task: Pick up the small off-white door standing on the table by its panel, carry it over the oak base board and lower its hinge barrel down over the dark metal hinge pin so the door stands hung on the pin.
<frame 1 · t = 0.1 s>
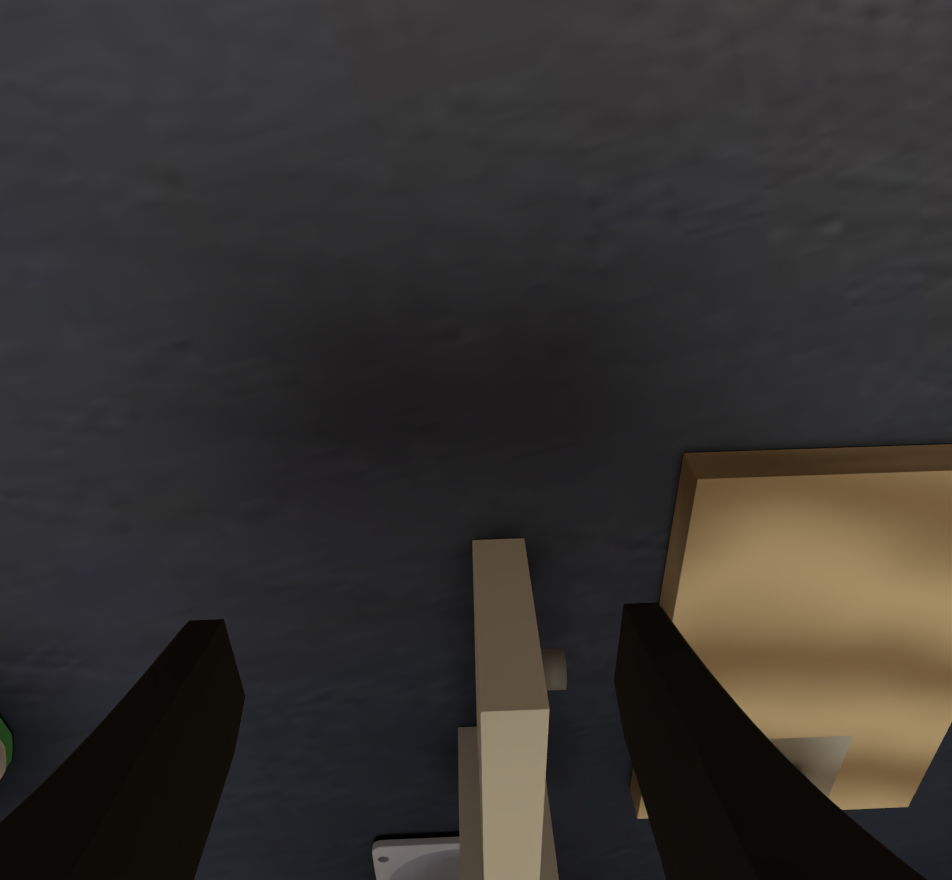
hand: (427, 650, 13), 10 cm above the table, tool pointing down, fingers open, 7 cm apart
door: (498, 750, 30), on the table
base board: (804, 642, 28), on the table
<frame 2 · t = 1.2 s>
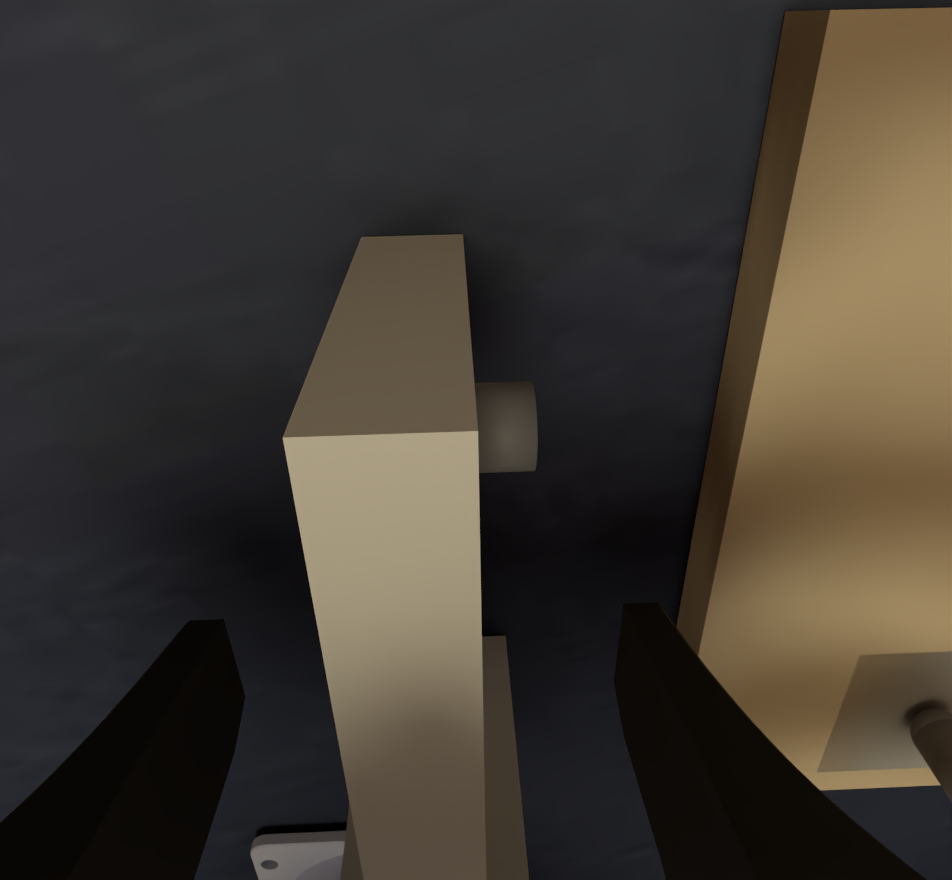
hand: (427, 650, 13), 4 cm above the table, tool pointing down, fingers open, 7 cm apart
door: (440, 684, 19), on the table
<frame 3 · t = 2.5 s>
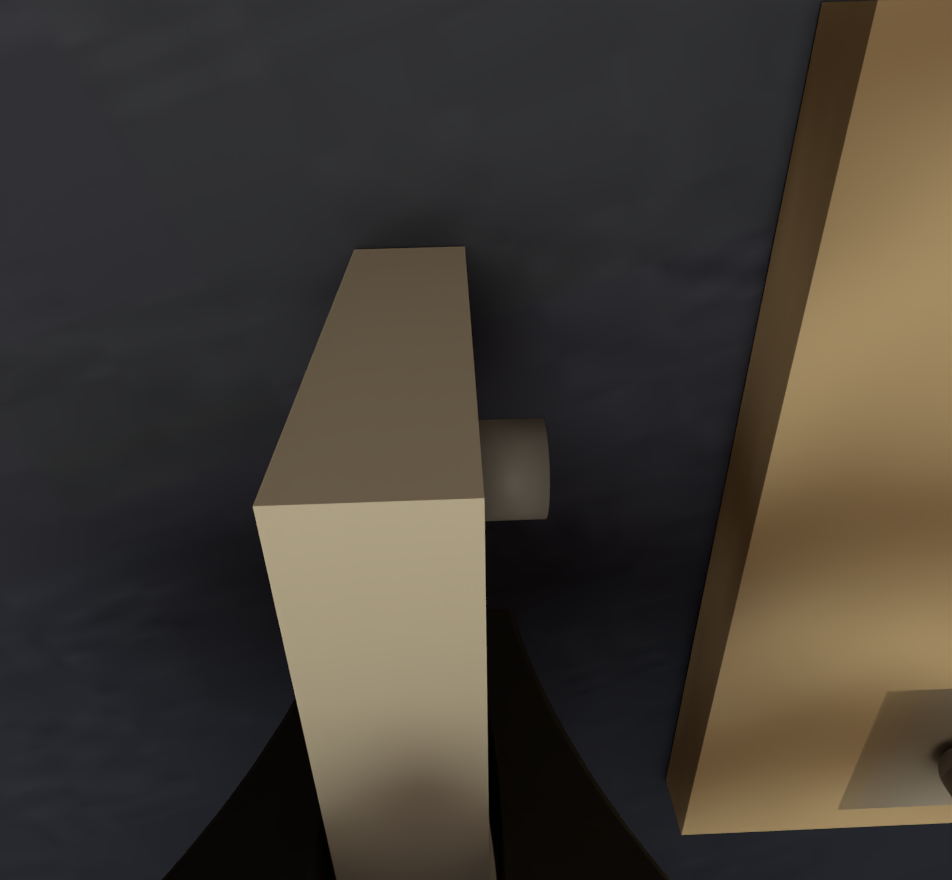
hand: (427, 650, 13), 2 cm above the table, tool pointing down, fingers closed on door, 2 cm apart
door: (440, 717, 18), on the table, touching gripper
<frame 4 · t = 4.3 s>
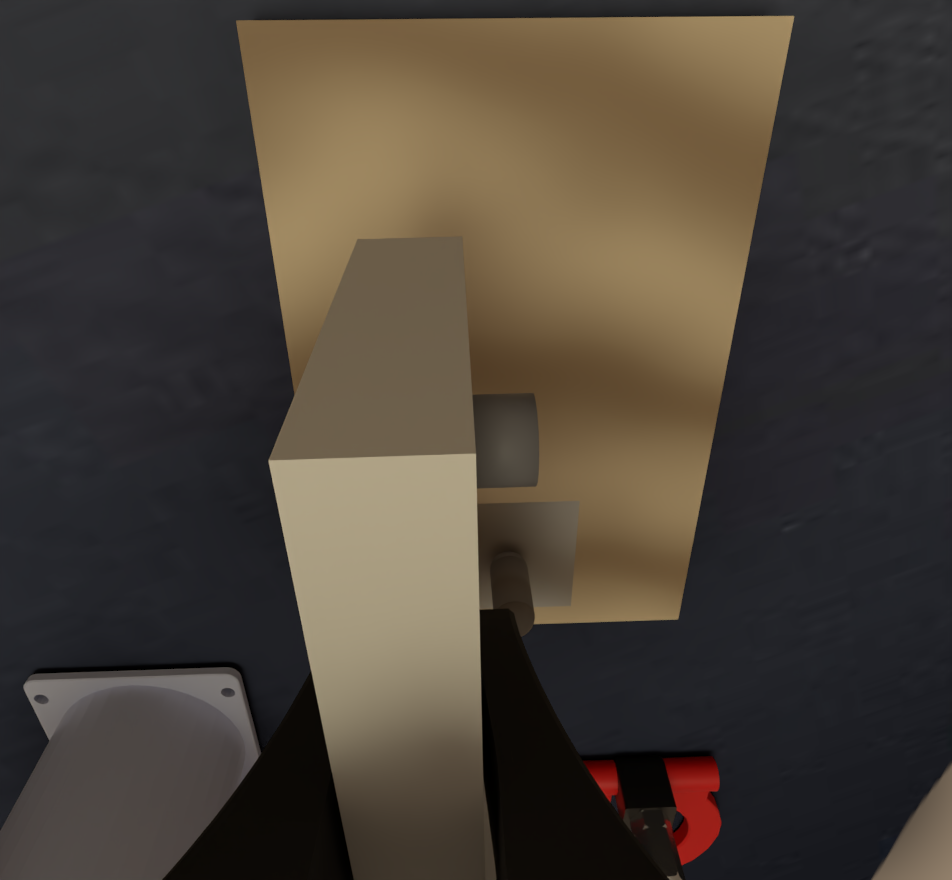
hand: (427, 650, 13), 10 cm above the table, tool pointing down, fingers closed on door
door: (440, 693, 18), point 7 cm above the table, touching gripper
base board: (506, 369, 21), on the table
tow hook: (625, 806, 33), on the table
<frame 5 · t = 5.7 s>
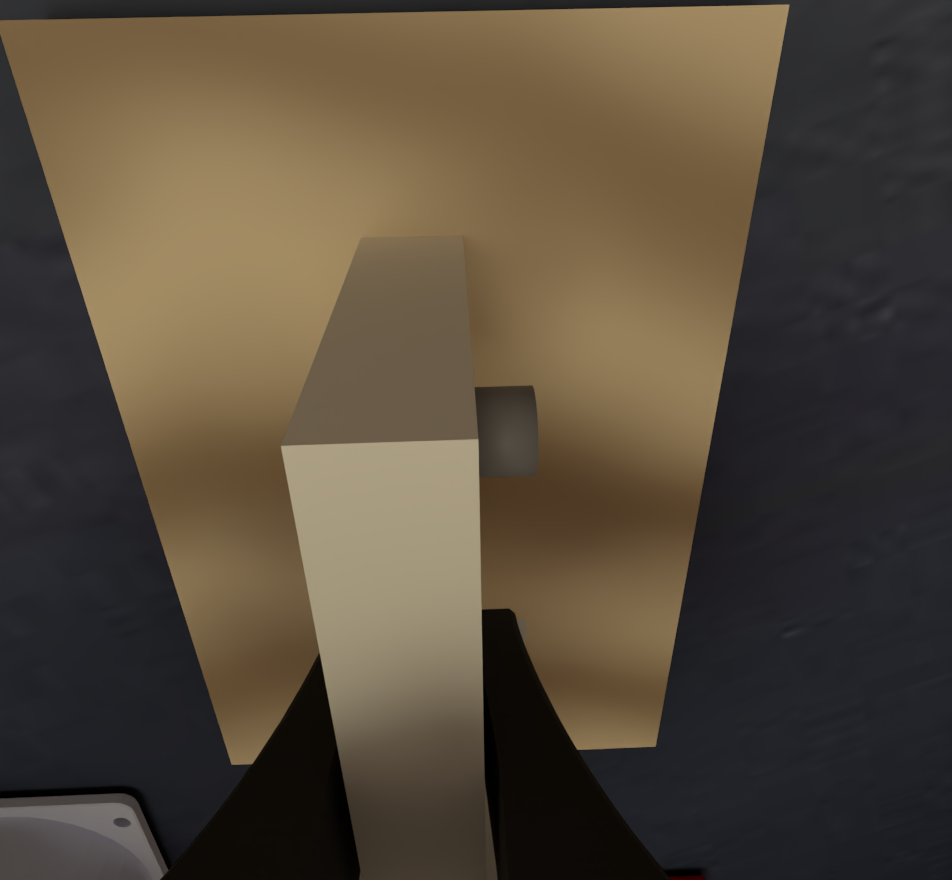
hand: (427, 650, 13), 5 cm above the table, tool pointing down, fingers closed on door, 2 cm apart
door: (440, 685, 18), point 1 cm above the table, touching base board, gripper
base board: (429, 459, 17), on the table
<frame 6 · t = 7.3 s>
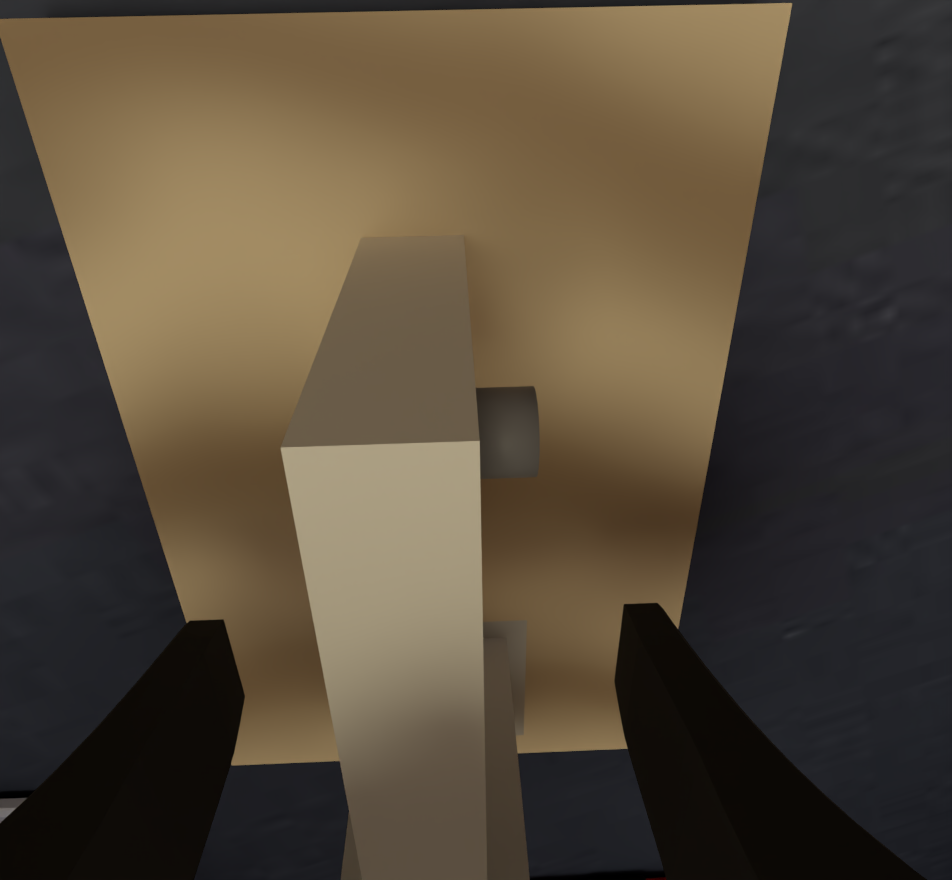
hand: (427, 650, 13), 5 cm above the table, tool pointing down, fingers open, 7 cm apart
door: (441, 686, 18), point 1 cm above the table, touching base board
base board: (430, 459, 17), on the table
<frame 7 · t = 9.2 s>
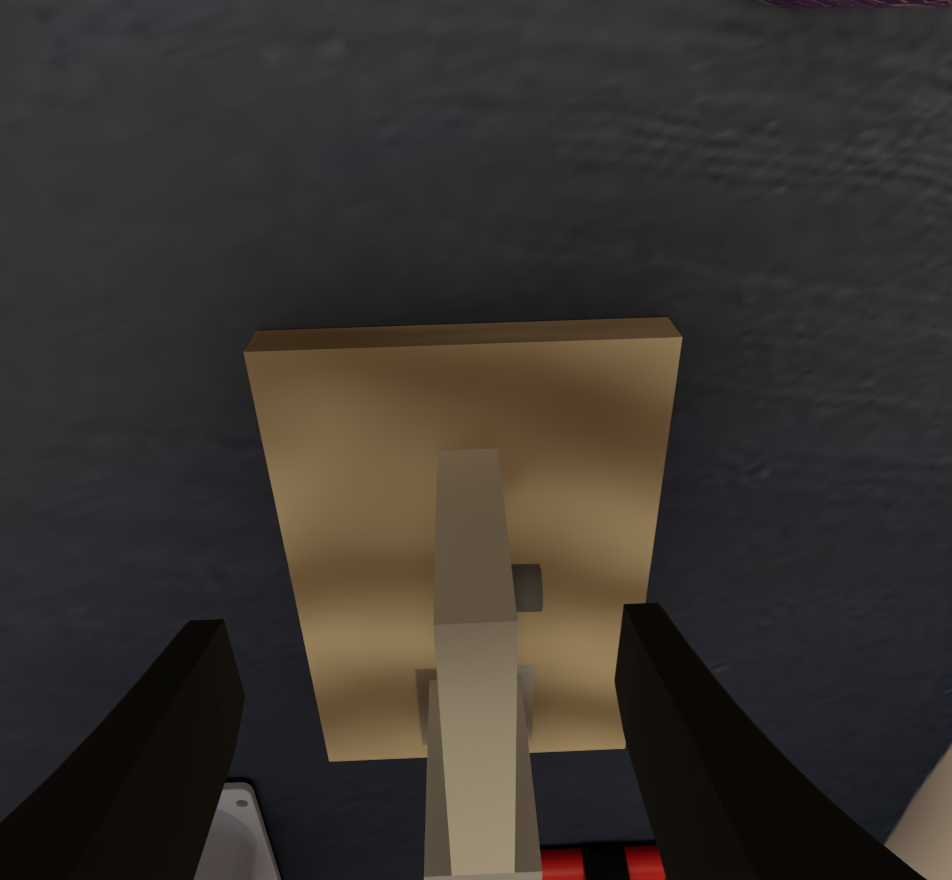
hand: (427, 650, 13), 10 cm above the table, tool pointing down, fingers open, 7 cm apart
door: (476, 707, 27), point 1 cm above the table, touching base board
base board: (470, 560, 25), on the table
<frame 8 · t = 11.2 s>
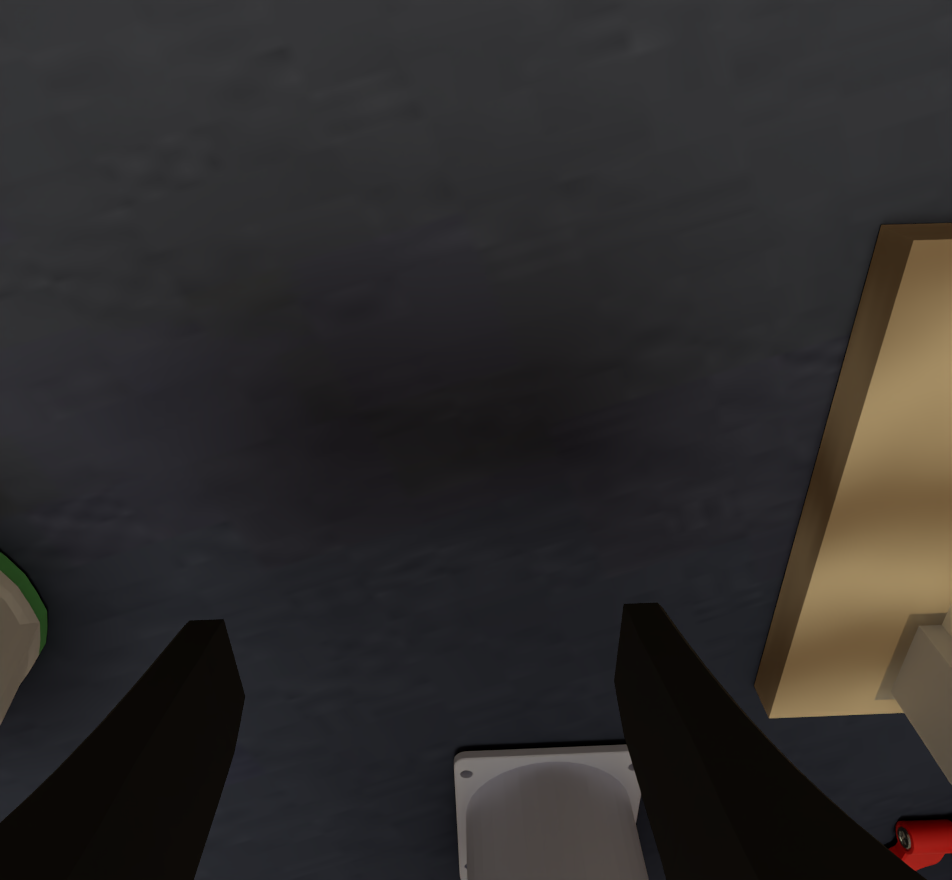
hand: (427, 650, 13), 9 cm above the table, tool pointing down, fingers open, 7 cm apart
door: (951, 658, 25), point 1 cm above the table, touching base board
tow hook: (935, 857, 36), on the table
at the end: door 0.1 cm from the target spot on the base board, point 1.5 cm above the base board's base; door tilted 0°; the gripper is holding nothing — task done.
